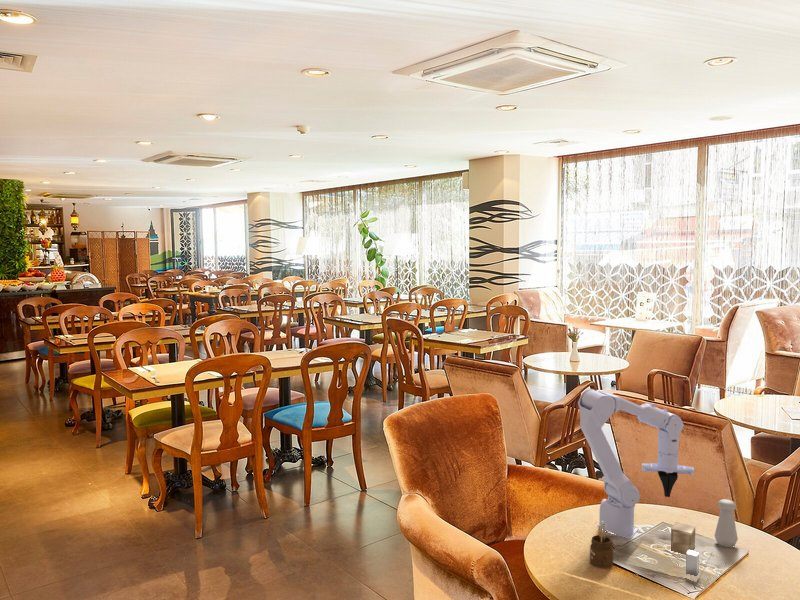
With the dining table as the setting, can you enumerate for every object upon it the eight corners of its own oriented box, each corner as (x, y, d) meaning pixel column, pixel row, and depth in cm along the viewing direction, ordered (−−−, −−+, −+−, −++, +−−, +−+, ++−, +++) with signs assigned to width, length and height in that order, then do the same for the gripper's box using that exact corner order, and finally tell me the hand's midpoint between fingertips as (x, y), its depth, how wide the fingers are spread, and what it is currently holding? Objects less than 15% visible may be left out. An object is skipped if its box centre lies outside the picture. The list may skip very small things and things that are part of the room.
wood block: (670, 551, 179) (671, 528, 178) (675, 544, 183) (675, 522, 182) (690, 556, 175) (691, 533, 175) (694, 549, 180) (695, 526, 179)
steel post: (685, 573, 166) (686, 553, 166) (688, 569, 168) (688, 549, 168) (696, 576, 165) (697, 556, 164) (698, 572, 167) (699, 552, 166)
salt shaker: (739, 551, 179) (741, 505, 178) (717, 549, 180) (718, 504, 179) (733, 541, 185) (734, 497, 184) (712, 540, 186) (713, 496, 185)
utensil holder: (613, 560, 175) (613, 517, 174) (612, 571, 169) (613, 527, 168) (590, 557, 176) (591, 515, 176) (589, 568, 171) (589, 524, 170)
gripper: (643, 454, 192) (642, 498, 193) (696, 457, 188) (695, 503, 189) (641, 447, 199) (640, 489, 200) (692, 450, 195) (691, 494, 196)
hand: (667, 495), depth 195 cm, fingers closed
